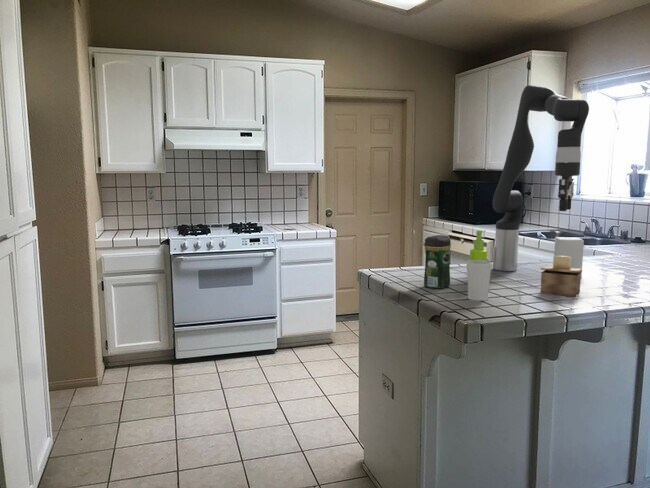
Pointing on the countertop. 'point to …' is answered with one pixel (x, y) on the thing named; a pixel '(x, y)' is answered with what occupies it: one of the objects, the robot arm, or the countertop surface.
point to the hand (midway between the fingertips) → (565, 210)
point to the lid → (561, 269)
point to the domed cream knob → (562, 262)
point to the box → (560, 283)
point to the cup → (478, 279)
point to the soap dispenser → (478, 248)
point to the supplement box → (570, 250)
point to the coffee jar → (437, 261)
